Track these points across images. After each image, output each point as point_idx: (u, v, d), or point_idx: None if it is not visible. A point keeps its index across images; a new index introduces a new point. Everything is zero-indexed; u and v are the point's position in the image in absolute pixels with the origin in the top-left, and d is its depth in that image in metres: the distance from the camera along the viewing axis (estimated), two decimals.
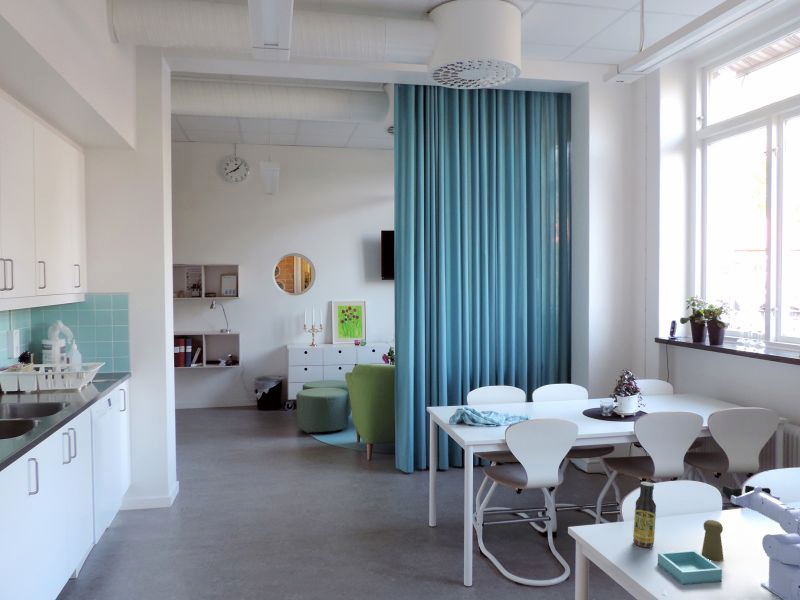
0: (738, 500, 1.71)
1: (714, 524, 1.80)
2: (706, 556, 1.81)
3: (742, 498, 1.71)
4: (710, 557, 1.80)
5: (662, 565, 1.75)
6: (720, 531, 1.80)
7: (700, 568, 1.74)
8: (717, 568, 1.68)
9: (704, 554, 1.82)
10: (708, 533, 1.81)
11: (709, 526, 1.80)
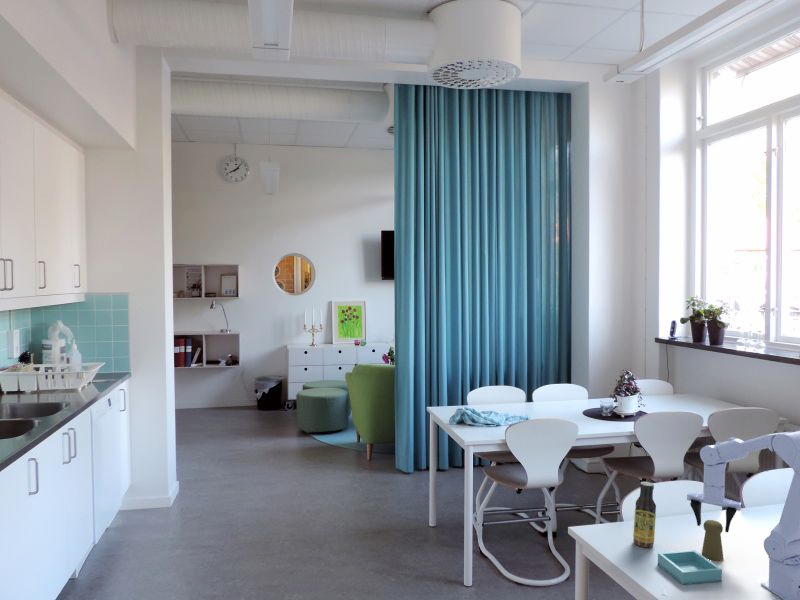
0: None
1: (714, 524, 1.80)
2: (706, 556, 1.81)
3: (696, 495, 1.85)
4: (710, 557, 1.80)
5: (662, 565, 1.75)
6: (720, 531, 1.80)
7: (700, 568, 1.74)
8: (717, 568, 1.68)
9: (704, 554, 1.82)
10: (708, 533, 1.81)
11: (709, 526, 1.80)
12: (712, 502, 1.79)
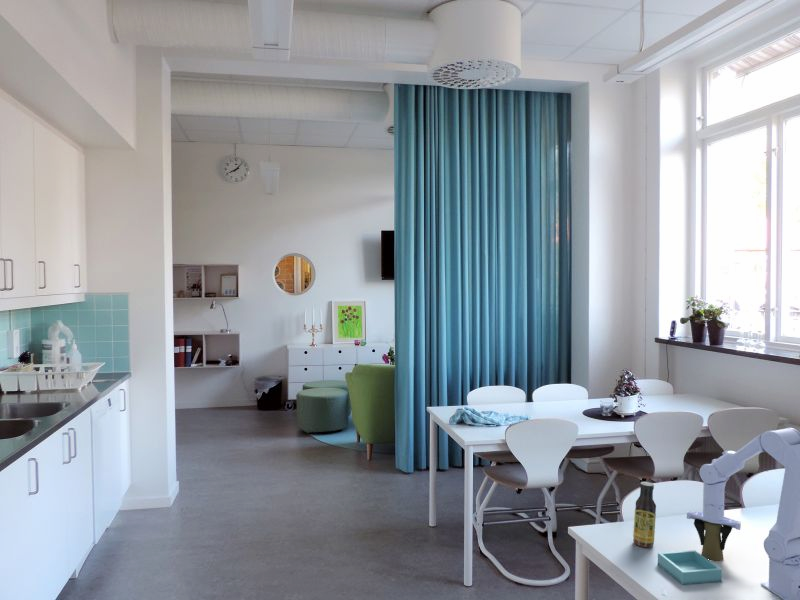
0: None
1: (714, 524, 1.80)
2: (706, 556, 1.81)
3: (696, 513, 1.85)
4: (710, 557, 1.80)
5: (662, 565, 1.75)
6: (720, 531, 1.80)
7: (700, 568, 1.74)
8: (717, 568, 1.68)
9: (704, 554, 1.82)
10: (708, 533, 1.81)
11: (709, 526, 1.80)
12: (712, 521, 1.79)
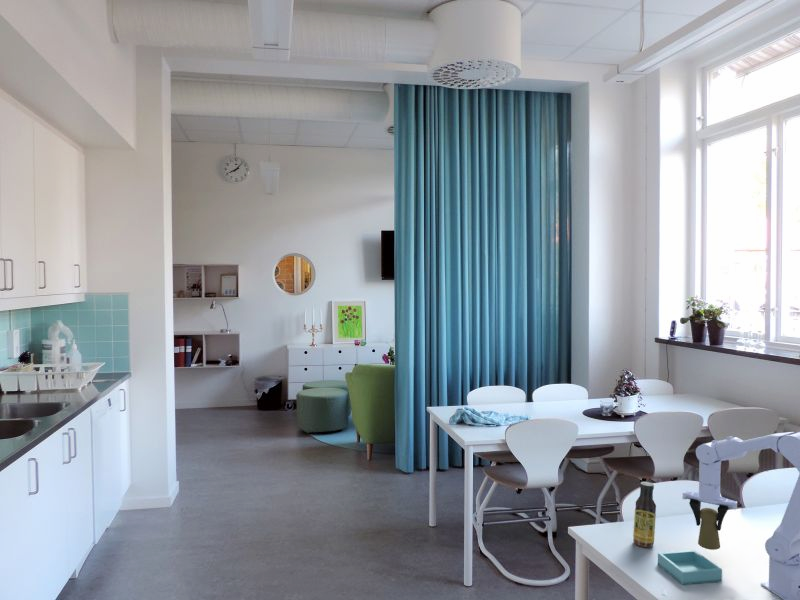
0: None
1: (710, 513, 1.78)
2: (703, 545, 1.79)
3: None
4: (707, 545, 1.78)
5: (662, 565, 1.75)
6: (716, 519, 1.78)
7: (700, 568, 1.74)
8: (717, 568, 1.68)
9: (701, 543, 1.80)
10: (704, 521, 1.79)
11: (705, 515, 1.78)
12: (707, 501, 1.77)
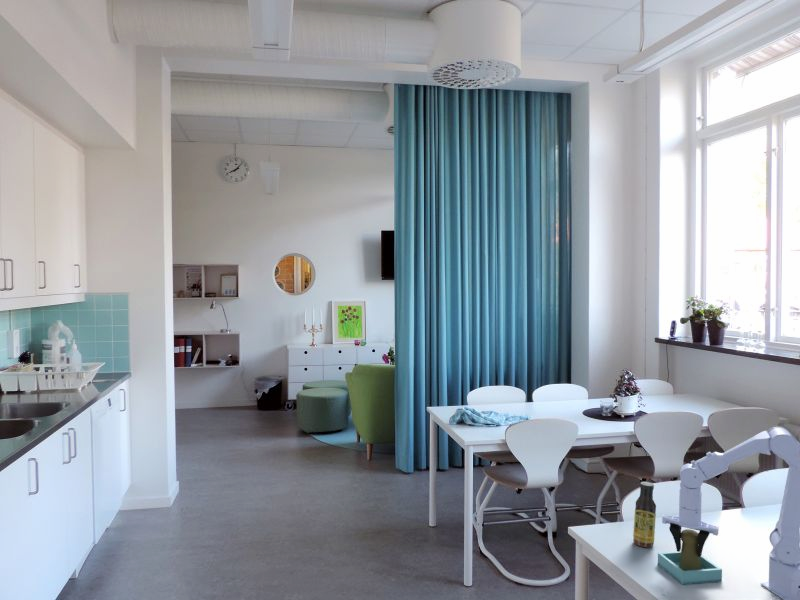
0: None
1: (691, 534, 1.71)
2: (684, 568, 1.72)
3: None
4: (688, 569, 1.71)
5: (662, 565, 1.75)
6: None
7: None
8: (717, 568, 1.68)
9: (682, 566, 1.73)
10: (685, 543, 1.72)
11: (686, 537, 1.71)
12: (688, 526, 1.69)
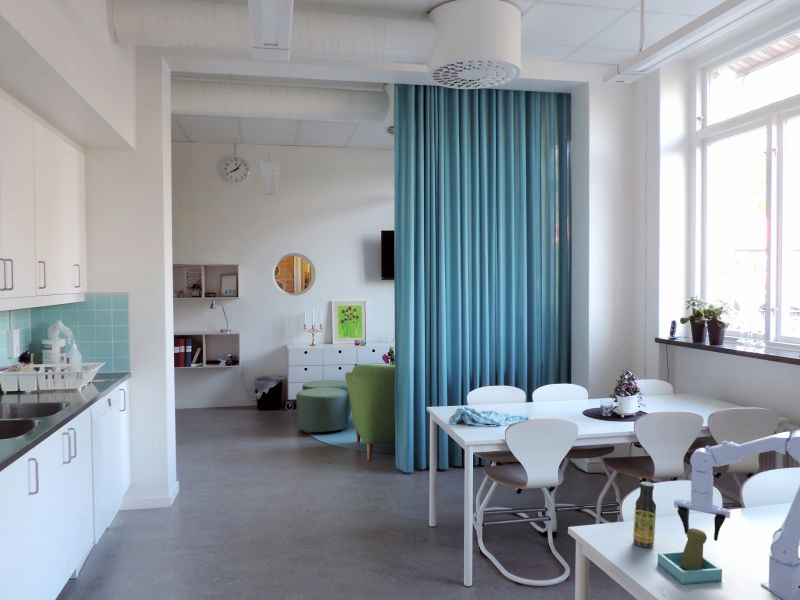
0: None
1: (699, 533, 1.71)
2: (685, 565, 1.72)
3: None
4: (689, 566, 1.71)
5: (662, 565, 1.75)
6: (704, 541, 1.71)
7: None
8: (717, 568, 1.68)
9: (683, 563, 1.73)
10: (690, 541, 1.72)
11: (693, 534, 1.72)
12: (700, 509, 1.71)
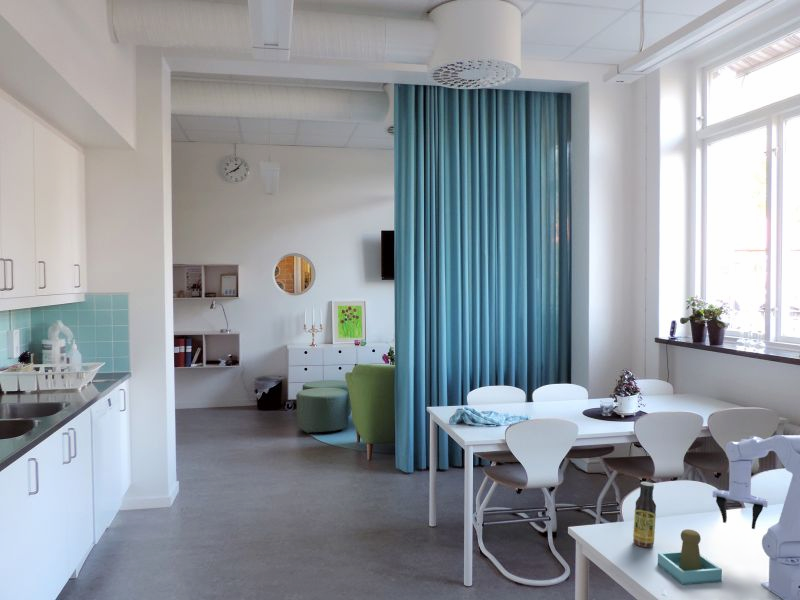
0: None
1: (691, 534, 1.72)
2: (684, 568, 1.72)
3: (722, 492, 1.85)
4: (688, 569, 1.71)
5: (662, 565, 1.75)
6: (698, 541, 1.71)
7: None
8: (717, 568, 1.68)
9: (682, 566, 1.73)
10: (685, 543, 1.72)
11: (687, 537, 1.72)
12: (738, 499, 1.79)
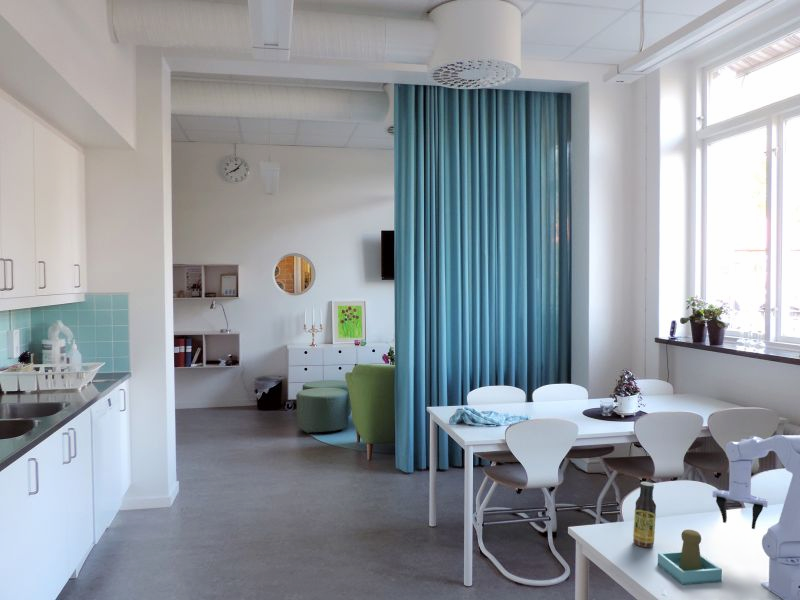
0: None
1: (692, 534, 1.71)
2: (684, 568, 1.72)
3: (722, 492, 1.85)
4: (688, 569, 1.71)
5: (662, 565, 1.75)
6: (699, 541, 1.71)
7: None
8: (717, 568, 1.68)
9: (682, 566, 1.73)
10: (686, 543, 1.72)
11: (687, 537, 1.72)
12: (738, 499, 1.79)
